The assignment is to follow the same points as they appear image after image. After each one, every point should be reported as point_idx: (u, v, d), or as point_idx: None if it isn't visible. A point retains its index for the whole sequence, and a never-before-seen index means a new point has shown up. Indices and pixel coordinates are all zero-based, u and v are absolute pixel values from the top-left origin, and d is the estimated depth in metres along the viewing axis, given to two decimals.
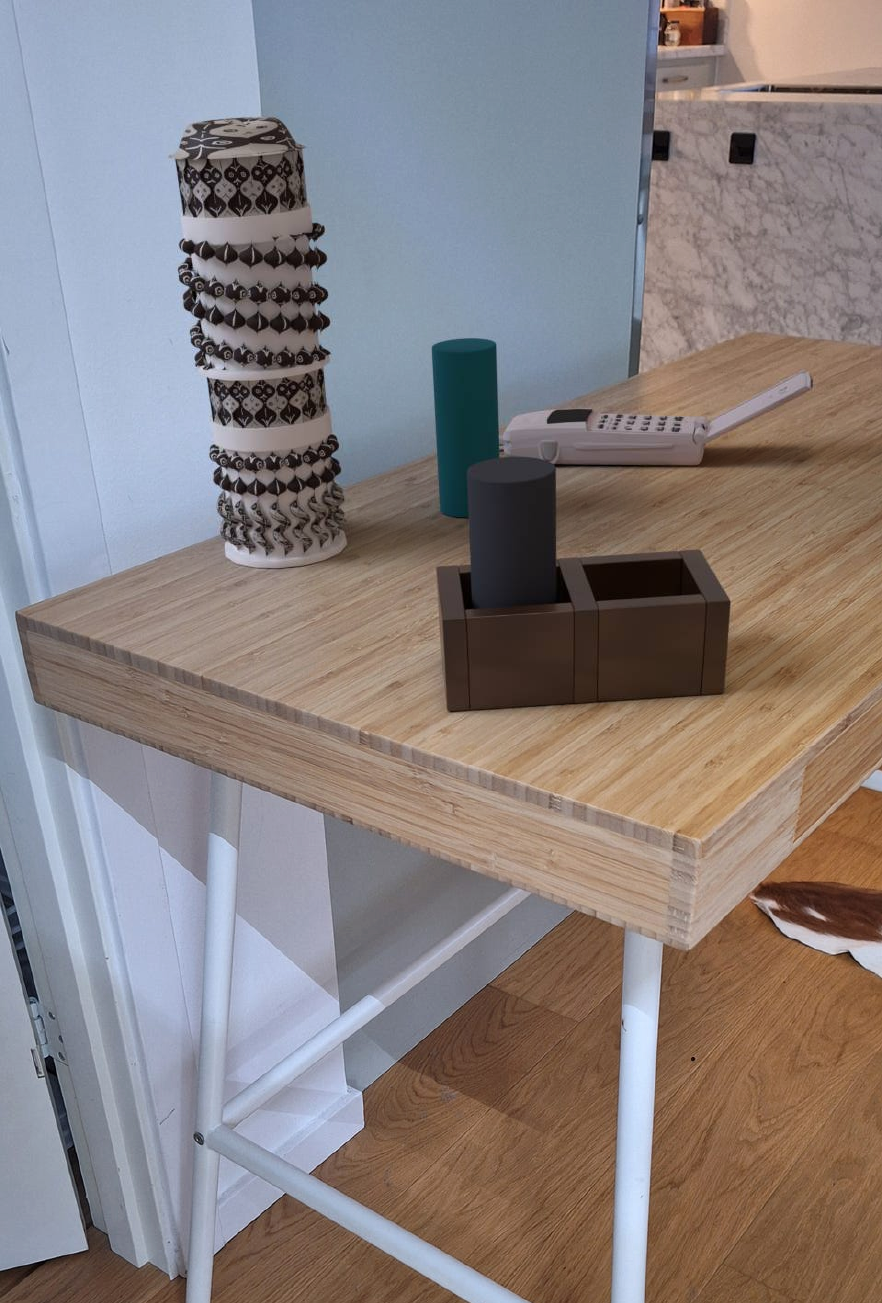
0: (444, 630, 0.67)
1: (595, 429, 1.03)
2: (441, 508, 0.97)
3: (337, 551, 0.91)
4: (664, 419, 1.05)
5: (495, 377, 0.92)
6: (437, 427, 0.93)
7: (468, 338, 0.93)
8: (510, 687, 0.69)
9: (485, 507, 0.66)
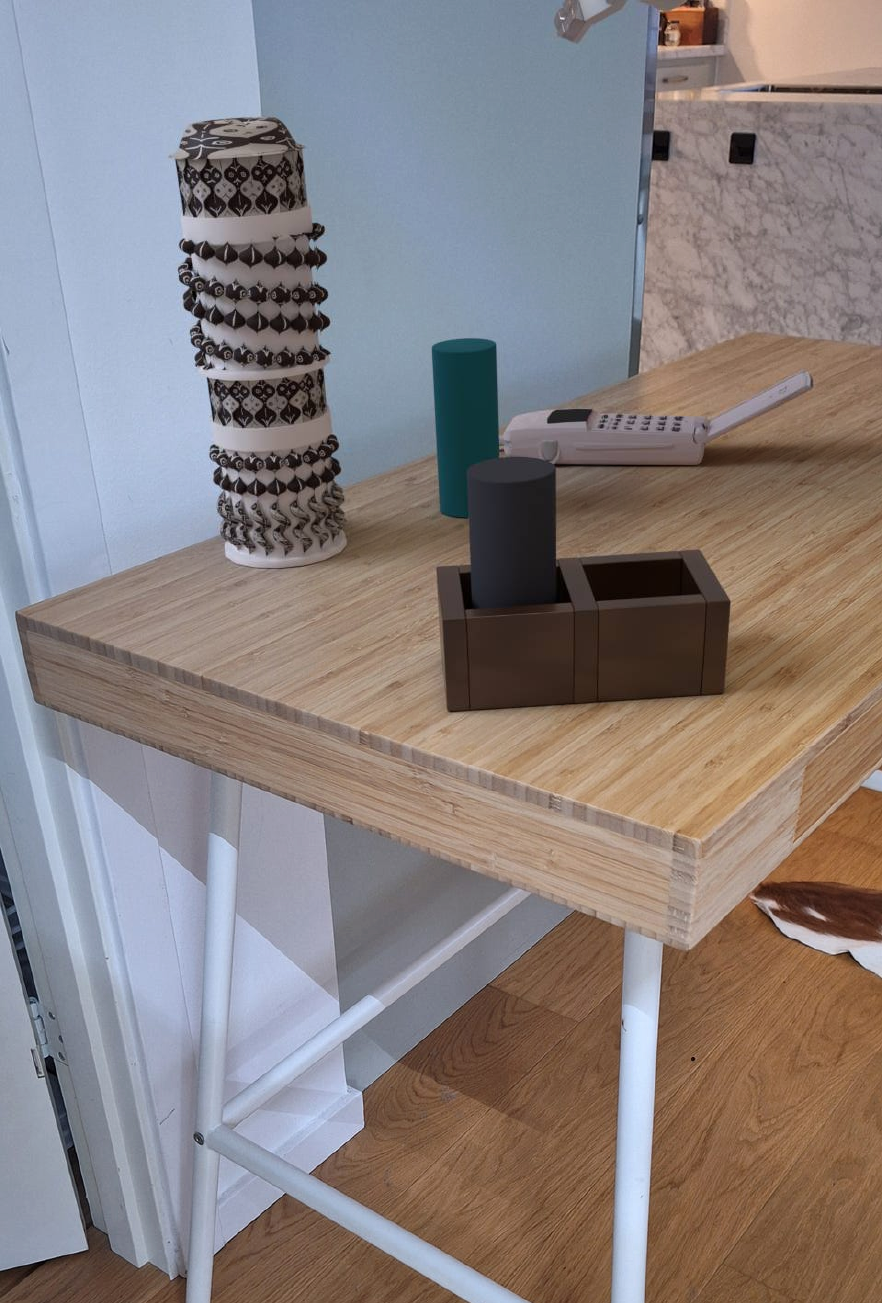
0: (444, 630, 0.67)
1: (595, 429, 1.03)
2: (441, 508, 0.97)
3: (337, 551, 0.91)
4: (664, 419, 1.05)
5: (495, 377, 0.92)
6: (437, 427, 0.93)
7: (468, 338, 0.93)
8: (510, 687, 0.69)
9: (485, 507, 0.66)
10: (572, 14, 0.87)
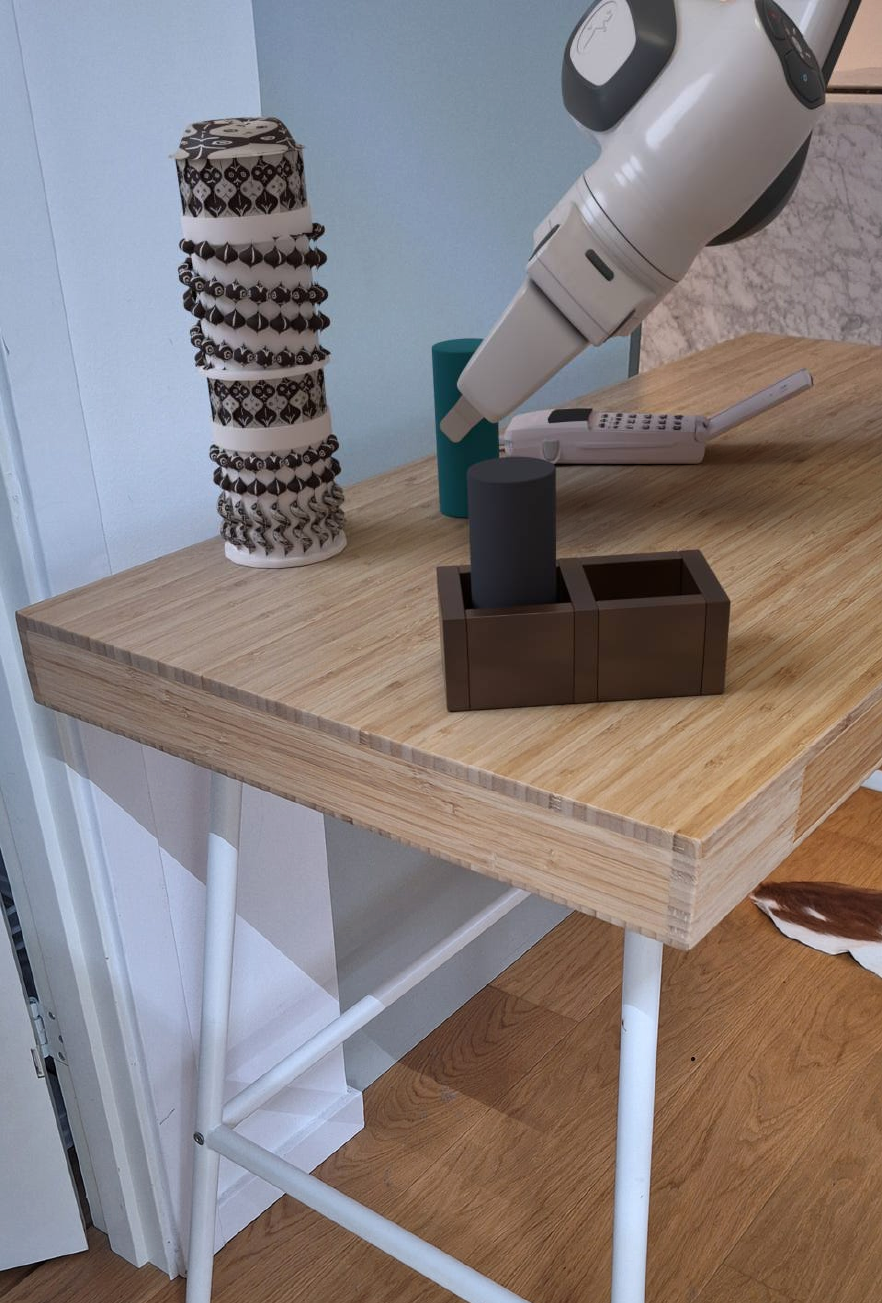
0: (444, 630, 0.67)
1: (597, 428, 1.03)
2: (441, 508, 0.97)
3: (337, 551, 0.91)
4: (664, 418, 1.05)
5: None
6: (437, 427, 0.93)
7: (468, 338, 0.93)
8: (510, 687, 0.69)
9: (485, 507, 0.66)
10: None
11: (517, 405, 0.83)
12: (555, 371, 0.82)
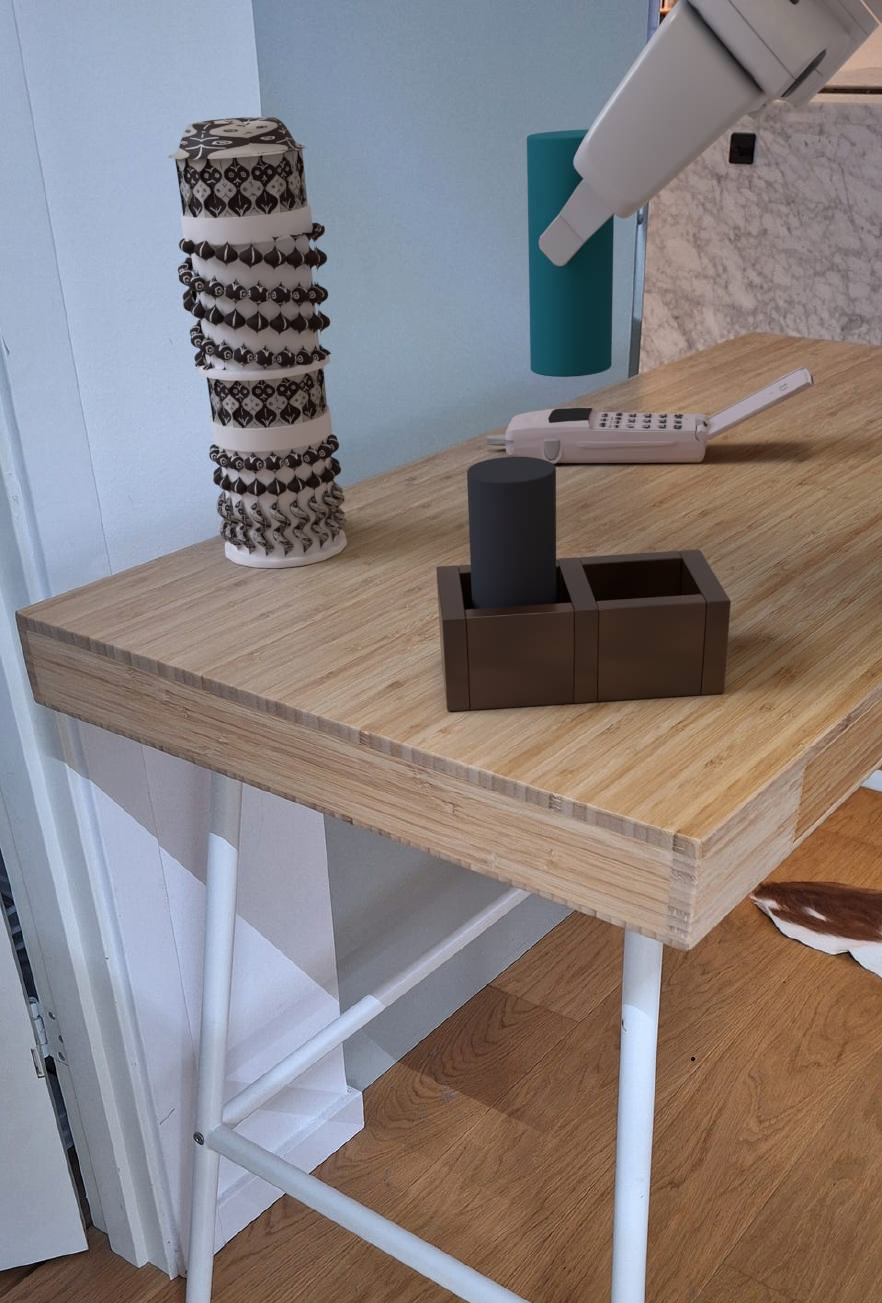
0: (444, 630, 0.67)
1: (598, 427, 1.03)
2: (533, 366, 0.73)
3: (337, 551, 0.91)
4: (664, 417, 1.06)
5: None
6: (531, 251, 0.70)
7: (574, 130, 0.69)
8: (510, 687, 0.69)
9: (485, 507, 0.66)
10: None
11: (659, 187, 0.59)
12: (716, 134, 0.58)
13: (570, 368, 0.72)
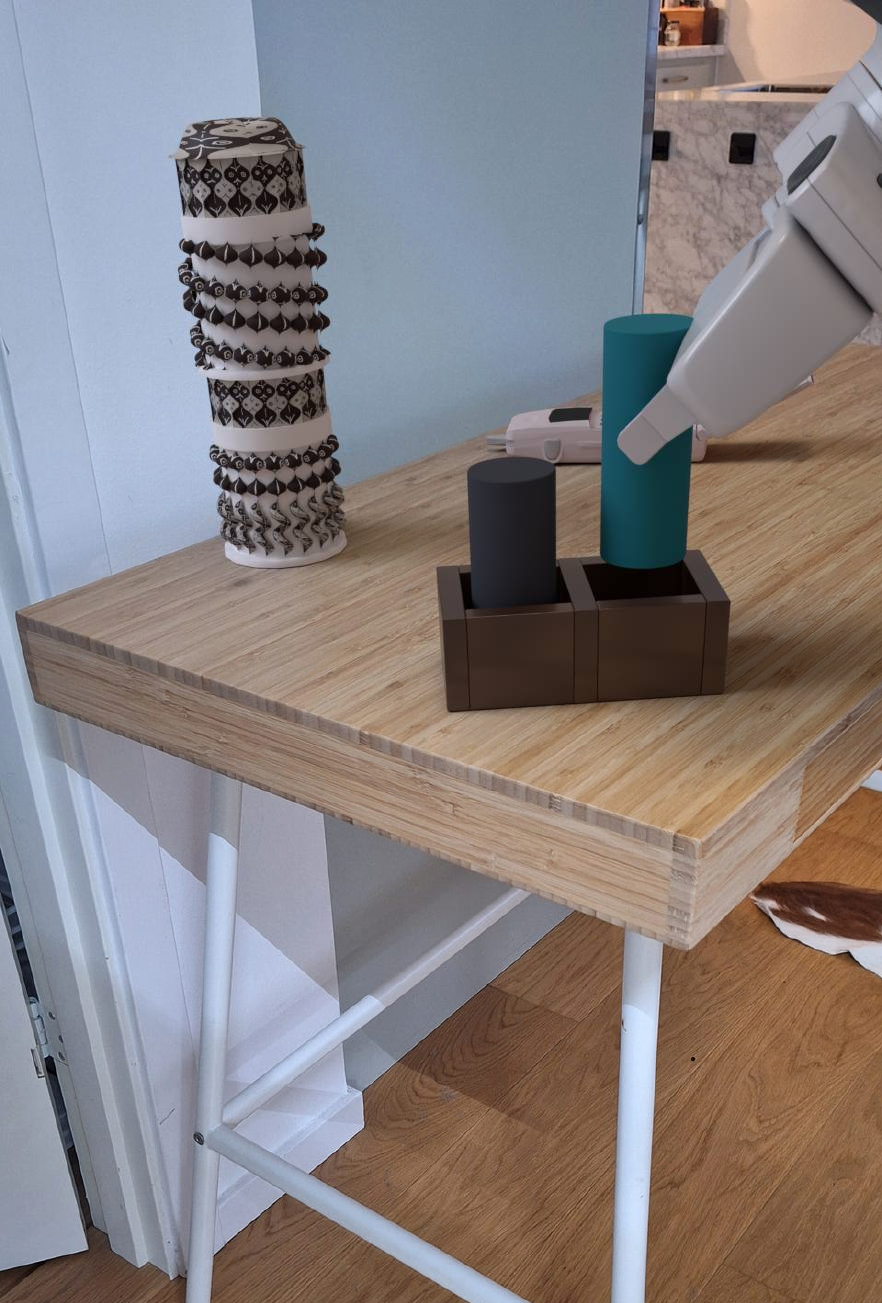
0: (444, 630, 0.67)
1: (598, 427, 1.03)
2: (603, 555, 0.69)
3: (337, 551, 0.91)
4: None
5: None
6: (606, 441, 0.65)
7: None
8: (510, 687, 0.69)
9: (485, 507, 0.66)
10: None
11: (761, 412, 0.55)
12: (825, 361, 0.54)
13: (645, 561, 0.67)
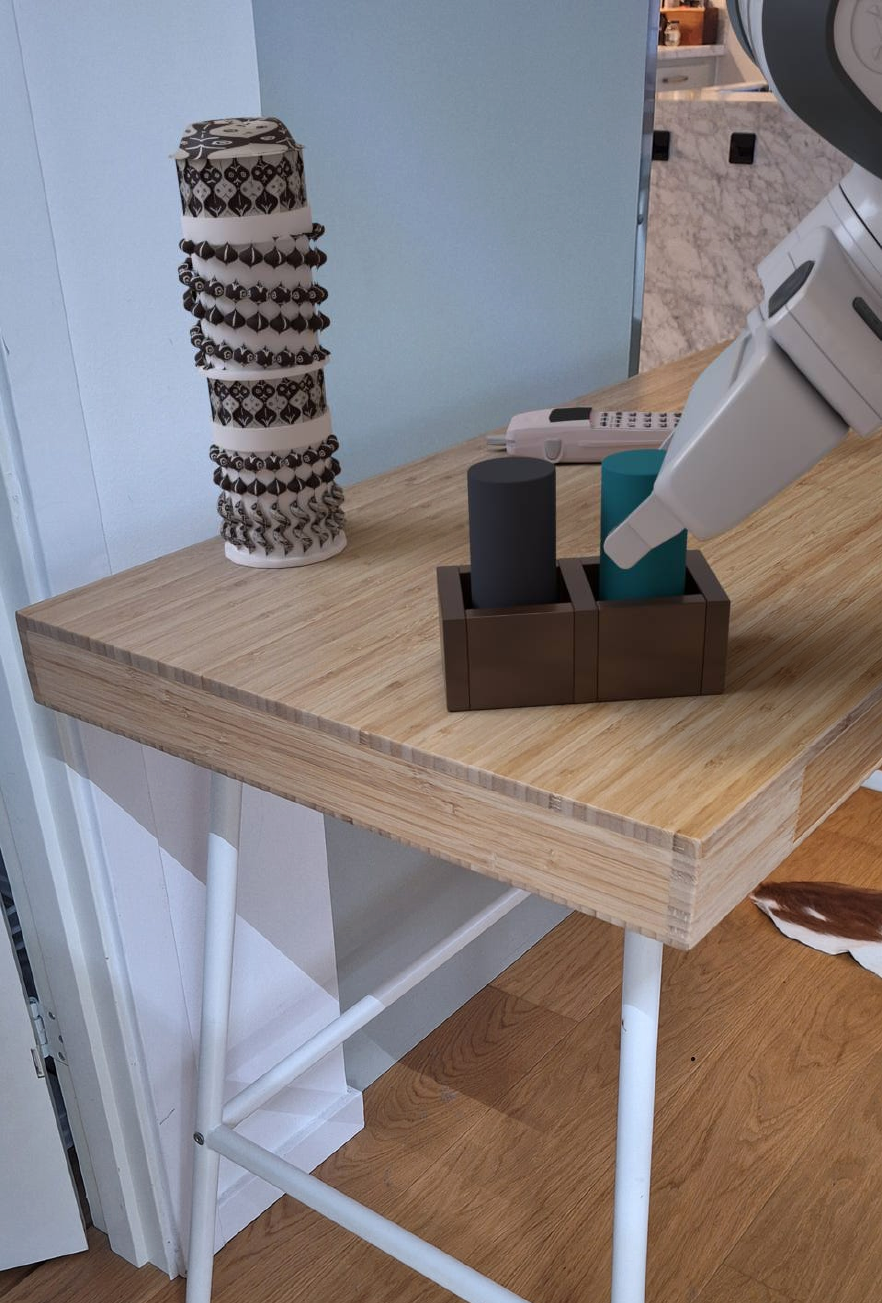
0: (444, 630, 0.67)
1: (599, 427, 1.03)
2: None
3: (337, 551, 0.91)
4: (664, 416, 1.06)
5: None
6: (604, 569, 0.69)
7: (648, 449, 0.68)
8: (510, 687, 0.69)
9: (485, 507, 0.66)
10: None
11: (743, 519, 0.58)
12: (803, 473, 0.56)
13: None
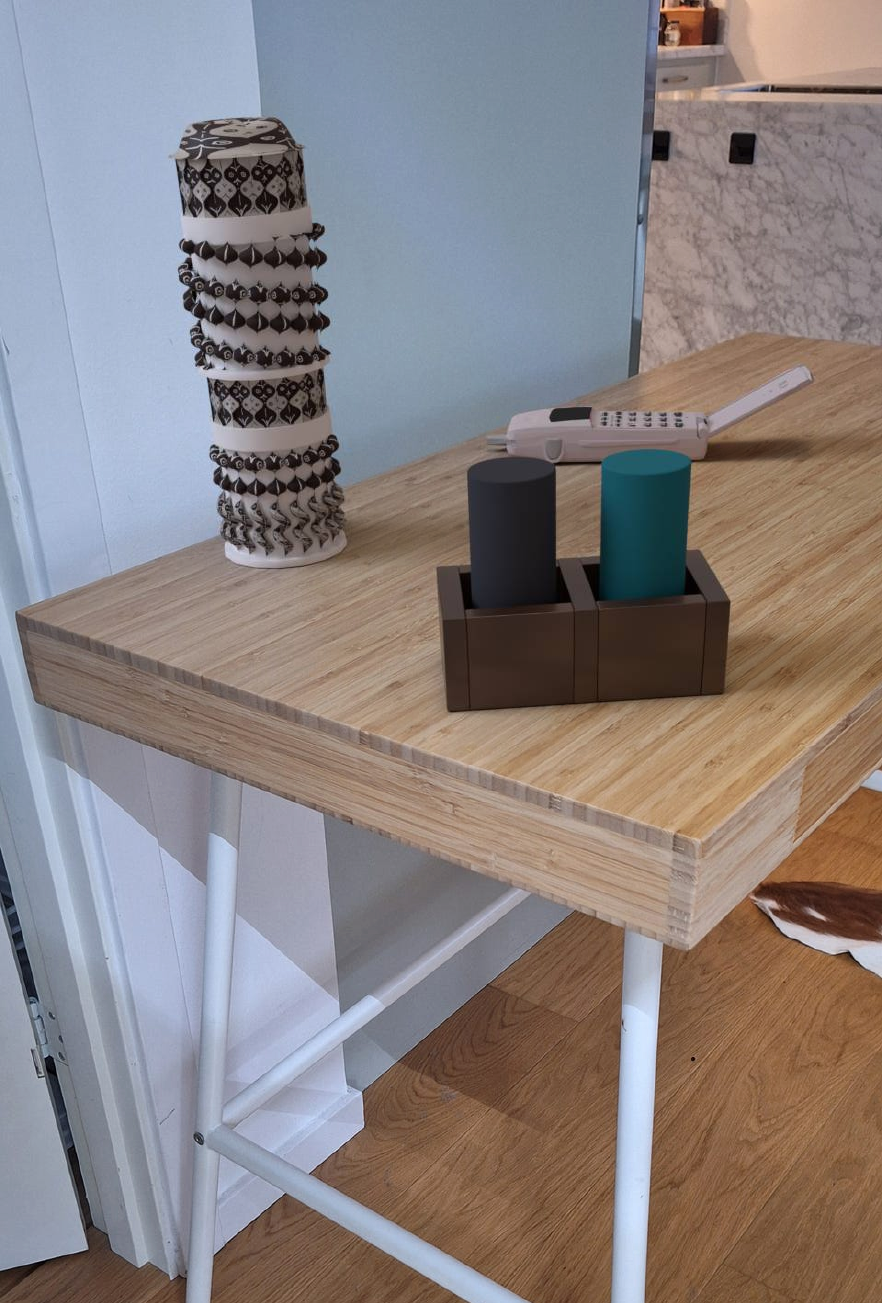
0: (444, 630, 0.67)
1: (599, 426, 1.03)
2: None
3: (337, 551, 0.91)
4: (664, 415, 1.06)
5: (688, 504, 0.67)
6: (604, 569, 0.69)
7: (648, 449, 0.68)
8: (510, 687, 0.69)
9: (485, 507, 0.66)
10: None
11: None
12: None
13: None
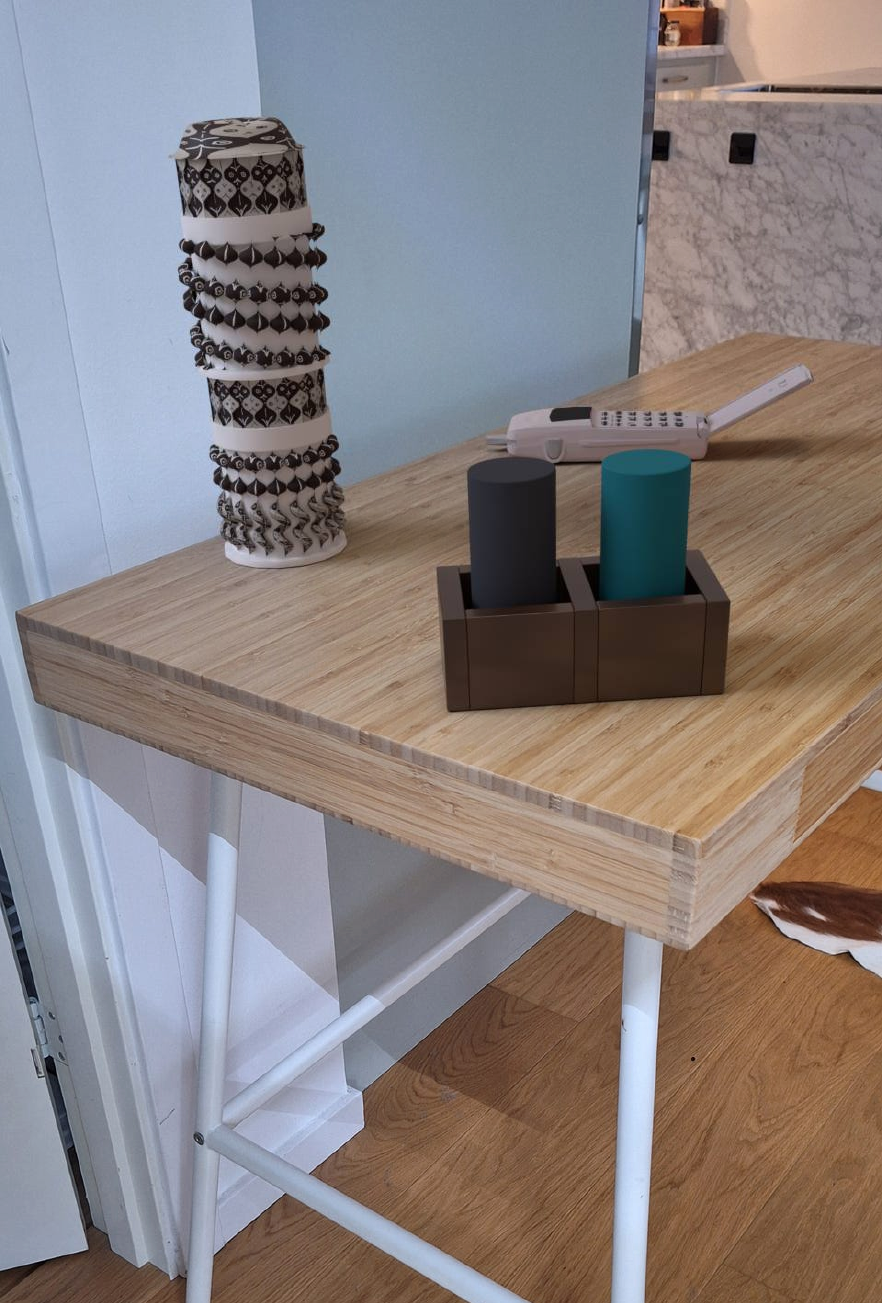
0: (444, 630, 0.67)
1: (600, 426, 1.03)
2: None
3: (337, 551, 0.91)
4: (664, 415, 1.06)
5: (688, 504, 0.67)
6: (604, 569, 0.69)
7: (648, 449, 0.68)
8: (510, 687, 0.69)
9: (485, 507, 0.66)
10: None
11: None
12: None
13: None
